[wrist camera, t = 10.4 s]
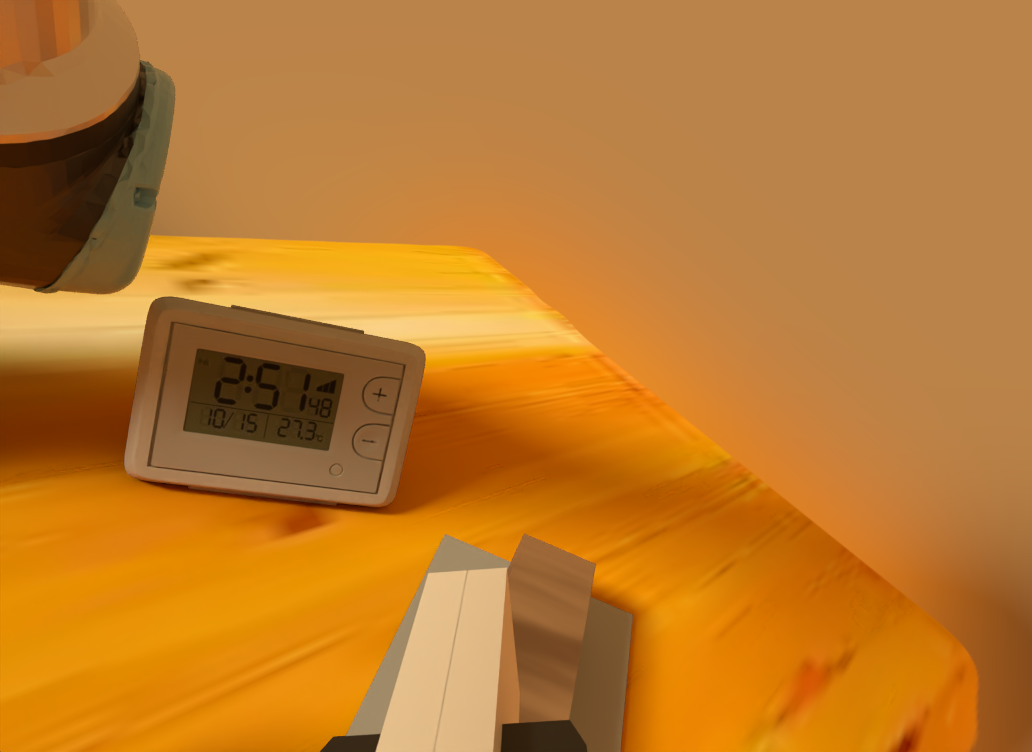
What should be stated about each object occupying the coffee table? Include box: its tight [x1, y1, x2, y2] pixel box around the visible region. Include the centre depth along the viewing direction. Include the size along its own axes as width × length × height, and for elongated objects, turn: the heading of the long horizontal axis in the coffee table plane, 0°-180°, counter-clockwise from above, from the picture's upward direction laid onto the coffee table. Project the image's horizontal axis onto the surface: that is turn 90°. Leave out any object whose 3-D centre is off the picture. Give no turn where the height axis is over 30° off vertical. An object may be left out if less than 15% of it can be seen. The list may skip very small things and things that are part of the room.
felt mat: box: [346, 534, 633, 752], centre depth 35 cm, size 22×13×1 cm, turn 166°
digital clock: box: [124, 297, 426, 507], centre depth 43 cm, size 16×9×11 cm, turn 89°
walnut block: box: [507, 534, 596, 723], centre depth 36 cm, size 4×4×13 cm
